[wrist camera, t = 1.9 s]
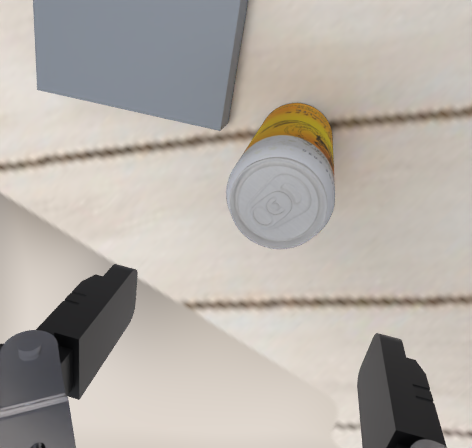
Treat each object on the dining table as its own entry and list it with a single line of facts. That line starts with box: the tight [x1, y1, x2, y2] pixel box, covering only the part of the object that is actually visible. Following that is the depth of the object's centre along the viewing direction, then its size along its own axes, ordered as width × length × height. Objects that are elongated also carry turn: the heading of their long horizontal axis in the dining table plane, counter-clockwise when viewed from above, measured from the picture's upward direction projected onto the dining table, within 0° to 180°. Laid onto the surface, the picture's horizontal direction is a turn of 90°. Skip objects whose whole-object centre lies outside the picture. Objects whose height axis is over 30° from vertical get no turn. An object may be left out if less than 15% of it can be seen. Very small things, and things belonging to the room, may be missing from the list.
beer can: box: [226, 103, 335, 249], centre depth 29 cm, size 6×6×15 cm
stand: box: [33, 0, 248, 131], centre depth 32 cm, size 16×16×3 cm
